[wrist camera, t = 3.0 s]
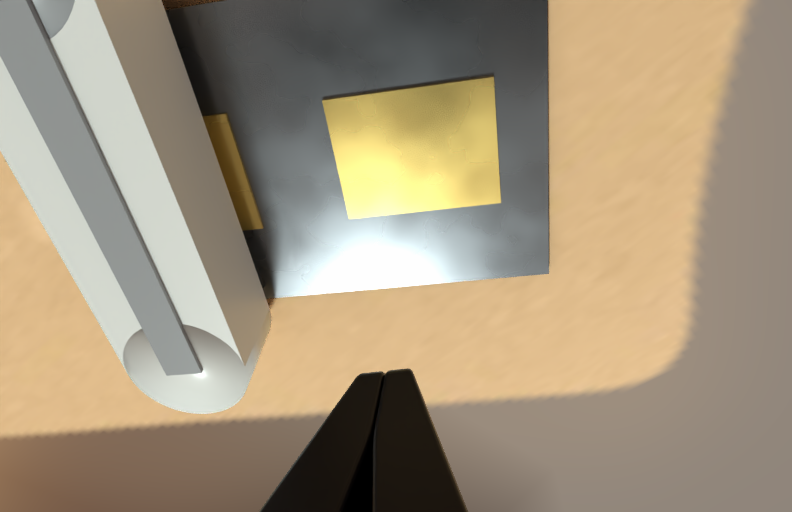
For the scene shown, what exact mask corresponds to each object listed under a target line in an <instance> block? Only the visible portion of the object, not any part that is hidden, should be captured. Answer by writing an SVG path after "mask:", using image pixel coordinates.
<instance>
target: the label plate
mask: <svg viewBox="0 0 792 512" xmlns="http://www.w3.org/2000/svg"><path fill="white" fill-rule="evenodd" d="M165 12H166V14H167V17H168V20H169V23H170V26H171V29H172V32H173V34H174V37H175V40H176V43H177V46H178V49H179V52H180V54H181V57H182V60H183V63H184V66H185V69H186V72H187V74H188V77H189V80H190V83H191V86H192V89H193V92H194V94H195V97H196V100H197V103H198V106H199V109H200V112H201V114H202V117H203V120H204V123H205V126H206V129H207V132H208V134H209V137H210V140H211V143H212V146H213V149H214V152H215V154H216V157H217V160H218V163H219V166H220V169H221V172H222V174H223V177H224V180H225V183H226V186H227V189H228V192H229V194H230V197H231V200H232V203H233V206H234V209H235V212H236V214H237V217H238V220H239V223H240V226H241V229H242V232H243V234H244V237H245V240H246V243H247V246H248V249H249V252H250V254H251V257H252V260H253V263H254V266H255V269H256V272H257V274H258V277H259V280H260V283H261V286H262V289H263V292H264V294H265V297H266V299H269V298H280V297H291V296H303V295H314V294H325V293H337V292H348V291H359V290H370V289H382V288H393V287H404V286H415V285H427V284H438V283H449V282H461V281H472V280H483V279H494V278H506V277H517V276H528V275H540V274H549V218H548V26H547V0H221V1H215V2H209V3H203V4H197V5H191V6H186V7H180V8H174V9H168V10H165Z"/></svg>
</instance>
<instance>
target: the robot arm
mask: <svg viewBox="0 0 792 512" xmlns="http://www.w3.org/2000/svg"><path fill="white" fill-rule="evenodd" d="M259 512H468V510H467V508H466V505H465V502H464V500H463V497H462V495H461V492H460V490H459V488H458V485H457V483H456V480H455V477H454V475H453V472H452V470H451V467H450V465H449V462H448V460H447V457H446V455H445V452H444V449H443V447H442V444H441V442H440V440H439V437H438V434H437V432H436V430H435V427H434V424H433V422H432V420H431V417H430V414H429V412H428V409H427V407H426V404H425V402H424V399H423V397H422V394H421V391H420V389H419V386H418V384H417V381H416V379H415V376H414V374H413V372H412V370H411V369H399V370H390V371H388V372H387V373H386V374H385V373H383V372H371V373H363V374H360V375H359V376H357V377H356V379H355V380H354V381H353V383H352V384H351V386H350V387H349V388H348V390H347V391H346V392H345V394H344V395H343V397H342V398H341V399H340V401H339V402H338V403H337V405H336V406H335V408H334V409H333V410H332V412H331V413H330V415H329V416H328V417H327V419H326V420H325V422H324V423H323V424H322V426H321V427H320V428H319V430H318V431H317V433H316V434H315V435H314V437H313V438H312V439H311V441H310V442H309V444H308V445H307V446H306V448H305V449H304V451H303V452H302V453H301V455H300V456H299V457H298V459H297V460H296V462H295V463H294V464H293V466H292V467H291V468H290V470H289V471H288V472H287V474H286V475H285V477H284V478H283V479H282V481H281V482H280V484H279V485H278V486H277V488H276V489H275V491H274V492H273V493H272V495H271V496H270V497H269V499H268V500H267V501H266V503H265V504H264V506H263V507H262V508H261V510H260V511H259Z"/></svg>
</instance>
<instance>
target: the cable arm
mask: <svg viewBox="0 0 792 512" xmlns="http://www.w3.org/2000/svg"><path fill="white" fill-rule="evenodd" d="M0 151H1V153H2V155H3V156H4V158H5V160H6V162H7V163H8V165H9V167H10V169H11V170H12V172H13V174H14V176H15V177H16V179H17V181H18V183H19V184H20V186H21V188H22V190H23V191H24V193H25V195H26V197H27V198H28V200H29V202H30V204H31V205H32V207H33V209H34V211H35V212H36V214H37V216H38V218H39V219H40V221H41V223H42V225H43V226H44V228H45V230H46V232H47V233H48V235H49V237H50V239H51V240H52V242H53V244H54V246H55V247H56V249H57V251H58V253H59V254H60V256H61V258H62V260H63V261H64V263H65V265H66V267H67V268H68V270H69V272H70V274H71V275H72V277H73V279H74V281H75V282H76V284H77V286H78V288H79V289H80V291H81V293H82V295H83V296H84V298H85V300H86V302H87V303H88V305H89V307H90V309H91V310H92V312H93V314H94V316H95V317H96V319H97V321H98V323H99V324H100V326H101V328H102V330H103V331H104V333H105V335H106V337H107V338H108V340H109V342H110V344H111V345H112V347H113V349H114V351H115V352H116V354H117V356H118V358H119V359H120V361H121V363H122V365H123V366H124V368H125V370H126V372H127V373H128V375H129V377H130V378H131V380H132V381H133V382H134V384H135V385H136V386H137V387H138V388H139V389H140V390H141V391H142V392H143V393H145V394H146V395H147V396H149V397H150V398H152V399H153V400H155V401H157V402H158V403H160V404H162V405H165V406H167V407H169V408H172V409H175V410H179V411H183V412H188V413H196V414H208V413H216V412H220V411H223V410H226V409H228V408H230V407H232V406H234V405H235V404H236V403H238V402H239V401H240V400H241V398H242V397H243V395H244V394H245V391H246V389H247V387H248V384H249V381H250V379H251V376H252V374H253V371H254V369H255V366H256V364H257V361H258V359H259V356H260V353H261V351H262V348H263V346H264V343H265V341H266V338H267V336H268V333H269V331H270V327H271V313H270V309H269V306H268V303H267V300H266V297H265V294H264V292H263V289H262V286H261V283H260V280H259V277H258V274H257V272H256V269H255V266H254V263H253V260H252V257H251V254H250V252H249V249H248V246H247V243H246V240H245V237H244V234H243V232H242V229H241V226H240V223H239V220H238V217H237V214H236V212H235V209H234V206H233V203H232V200H231V197H230V194H229V192H228V189H227V186H226V183H225V180H224V177H223V174H222V172H221V169H220V166H219V163H218V160H217V157H216V154H215V152H214V149H213V146H212V143H211V140H210V137H209V134H208V132H207V129H206V126H205V123H204V120H203V117H202V114H201V112H200V109H199V106H198V103H197V100H196V97H195V94H194V92H193V89H192V86H191V83H190V80H189V77H188V74H187V72H186V69H185V66H184V63H183V60H182V57H181V54H180V52H179V49H178V46H177V43H176V40H175V37H174V34H173V32H172V29H171V26H170V23H169V20H168V17H167V14H166V12H165V9H164V6H163V3H162V0H0Z"/></svg>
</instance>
